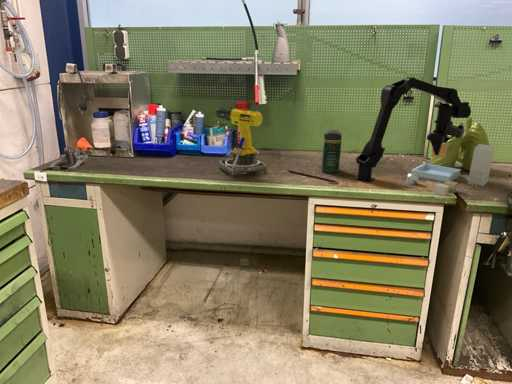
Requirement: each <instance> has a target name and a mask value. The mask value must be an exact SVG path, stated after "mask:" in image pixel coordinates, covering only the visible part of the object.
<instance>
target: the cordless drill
mask: <svg viewBox="0 0 512 384" xmlns="http://www.w3.org/2000/svg"><path fill="white" fill-rule="evenodd" d="M213 113H214V115H215V116H216V117H217V118H219V119H223V120H224V119H225V121H228V122H231V124H232V125H233V126H235V128H234V130H235V131H236V132H238V133H239V135H240V140H239V143H238V145H237V146H235V147H234V149H233V151H232V158H229V159H221V160H219V161H218V165H219V169H220V170H224V172H225V173H226V174H227V175H231V174H232V175H233V177H235V176H239V175H242V174H245V173H246V174H248V173H249V172H250V173H251V172H253V171H254V172H256V171H257V172H258V171H259V172H260V171H262V172H263V171H264V172H265V171H267V167H268V166H267V165H266V164H265V163H264V162H262V161H260V160H258V159H257V154H259V153H260V152H259V151H258V150H257V149H256V148H255V147H253V137H252V132H251V126H252V127H260V126H261V125H262V123H263V117H264V116H263V114H262V113H261V112H260V111H259V110H257V111H254V110H250V109H245V108H242V109H241V108H237V107H235V108H232V107H230V106H229V107H226V108H223V107H218V108H215V110H213Z"/></svg>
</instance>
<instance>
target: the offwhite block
mask: <svg viewBox="0 0 512 384" xmlns="http://www.w3.org/2000/svg"><path fill="white" fill-rule="evenodd" d="M448 190H449V185H445V184H444V183H441V182H437V184H435V185H434V189H433V195H437V194H438V195H437V196H442V197H445V196H447V195H448V194H449V192H448ZM446 194H447V195H446Z"/></svg>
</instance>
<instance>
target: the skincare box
mask: <svg viewBox="0 0 512 384" xmlns="http://www.w3.org/2000/svg"><path fill="white" fill-rule="evenodd" d="M489 145H490V144H489ZM489 145H481V144H479V145H478V146H476V147H475V148H474V153H473V158H472V164H471V169H470V170H469V174H468V178H467V179H468V180H467V184H470V185H475V186H481V187H485V186H486V184H487V183H488V182H489V177H490V172H491V168H492V163H493V158H494V154H495V149H496V146H495V145H490V146H489Z"/></svg>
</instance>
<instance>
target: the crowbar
mask: <svg viewBox="0 0 512 384" xmlns="http://www.w3.org/2000/svg"><path fill="white" fill-rule="evenodd" d="M287 173H289V174H294V175H299V176H303V177H308V178H312V179H317V180H320V181H321V180H322V181H325V182H327V183H328V184H329V185H338V184H339V182H338V180H335V179H329V178H324V177H321V176H317V175H314V174H313V175H312V174H308V173H304V172H303V173H302V172H299V171H293V170H291V169H289V168H287Z"/></svg>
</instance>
